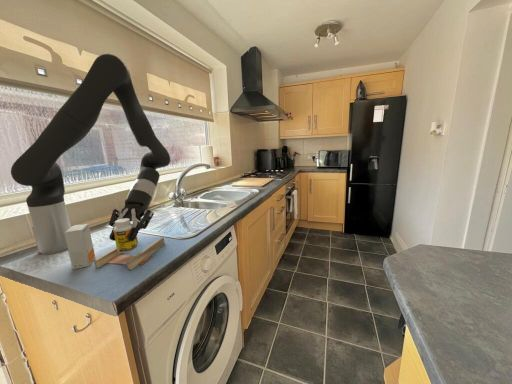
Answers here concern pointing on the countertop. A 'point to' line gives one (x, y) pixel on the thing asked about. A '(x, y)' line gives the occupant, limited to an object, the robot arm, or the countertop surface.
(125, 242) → the supplement bottle
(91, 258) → the skincare box
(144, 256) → the guide channel
